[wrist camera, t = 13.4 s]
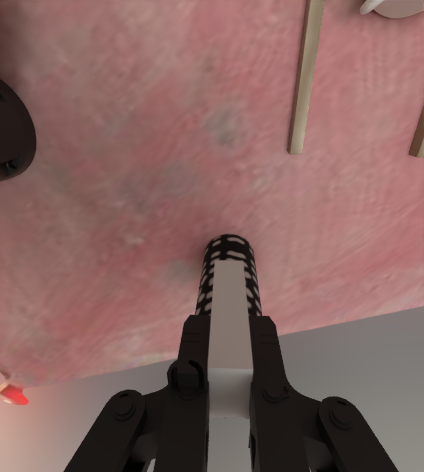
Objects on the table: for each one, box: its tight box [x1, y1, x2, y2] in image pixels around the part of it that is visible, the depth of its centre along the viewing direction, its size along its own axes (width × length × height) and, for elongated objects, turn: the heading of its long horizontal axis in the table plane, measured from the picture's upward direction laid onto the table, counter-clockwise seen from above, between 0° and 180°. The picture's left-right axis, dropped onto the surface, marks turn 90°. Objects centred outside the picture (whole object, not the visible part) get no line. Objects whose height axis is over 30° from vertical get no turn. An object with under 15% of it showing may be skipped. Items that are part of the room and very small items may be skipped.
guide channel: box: [288, 0, 424, 158], centre depth 30 cm, size 18×30×5 cm, turn 179°
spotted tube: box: [195, 234, 262, 316], centre depth 39 cm, size 8×8×20 cm
